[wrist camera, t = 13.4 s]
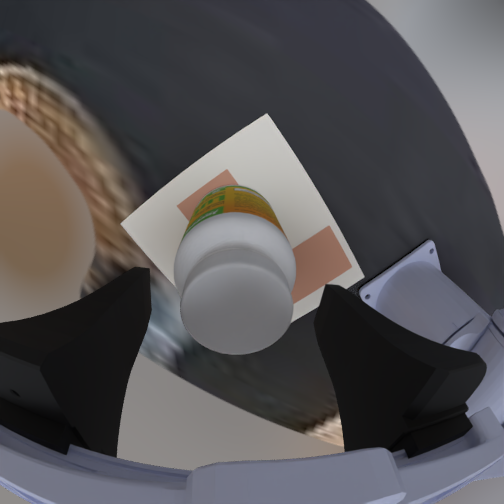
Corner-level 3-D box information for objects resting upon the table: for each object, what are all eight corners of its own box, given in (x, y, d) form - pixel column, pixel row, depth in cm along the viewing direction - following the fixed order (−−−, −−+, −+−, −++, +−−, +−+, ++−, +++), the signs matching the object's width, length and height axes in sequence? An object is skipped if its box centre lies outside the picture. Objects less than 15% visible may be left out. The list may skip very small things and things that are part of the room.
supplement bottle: (220, 167, 17) (206, 209, 8) (290, 211, 18) (343, 290, 10) (177, 237, 19) (137, 332, 10) (245, 274, 20) (257, 382, 11)
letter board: (361, 273, 21) (364, 277, 21) (238, 346, 24) (239, 351, 23) (266, 113, 16) (267, 113, 16) (123, 221, 18) (120, 224, 18)
